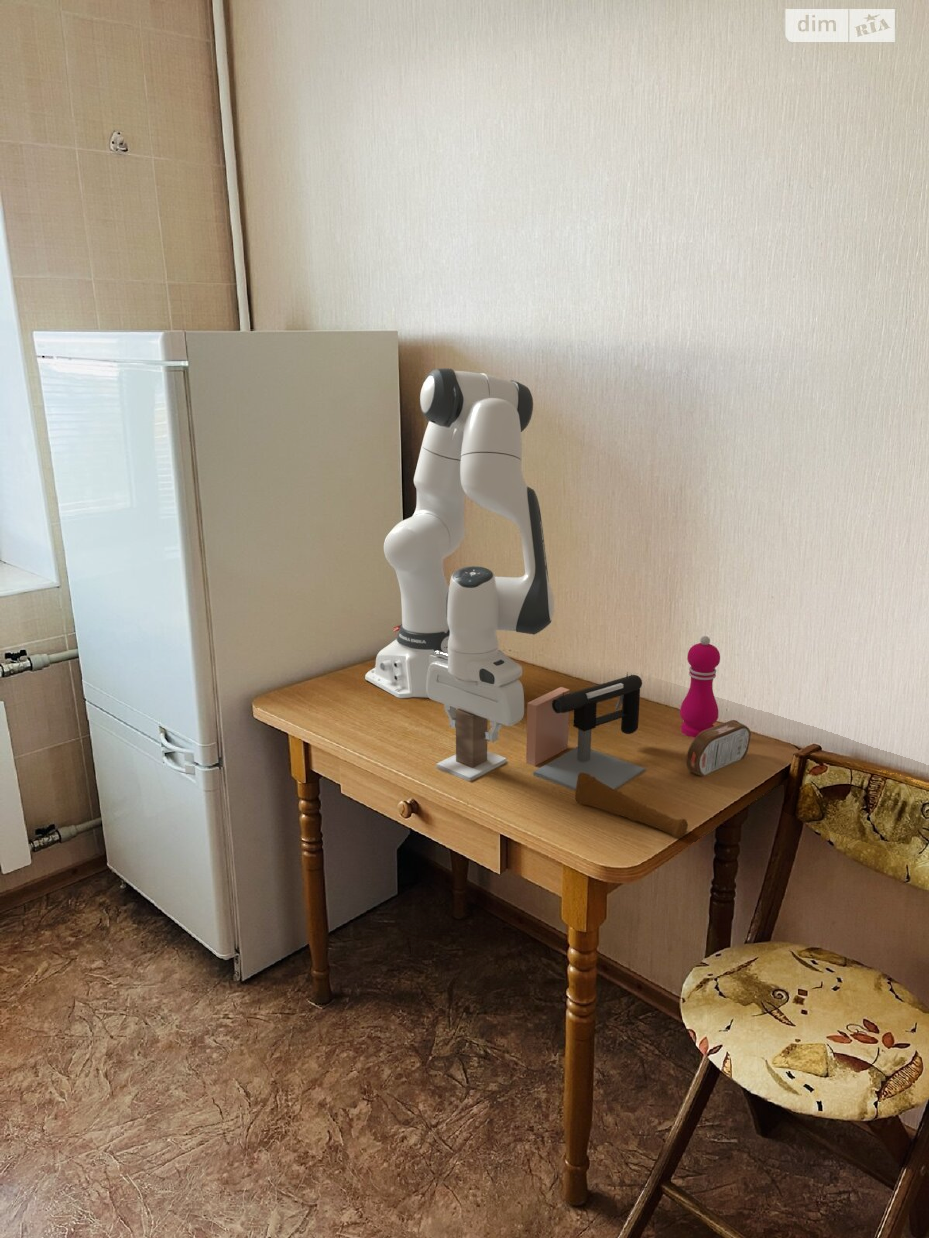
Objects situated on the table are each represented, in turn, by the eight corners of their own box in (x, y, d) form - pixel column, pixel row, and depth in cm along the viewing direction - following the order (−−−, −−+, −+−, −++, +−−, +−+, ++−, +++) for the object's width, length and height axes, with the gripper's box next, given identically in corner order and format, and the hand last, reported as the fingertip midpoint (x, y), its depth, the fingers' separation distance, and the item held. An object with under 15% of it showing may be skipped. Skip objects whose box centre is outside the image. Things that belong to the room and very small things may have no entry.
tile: (525, 763, 167) (526, 702, 164) (558, 745, 174) (560, 686, 171) (534, 767, 166) (536, 705, 162) (567, 748, 173) (569, 689, 169)
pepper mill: (705, 745, 174) (714, 645, 168) (671, 734, 179) (678, 637, 173) (723, 732, 179) (732, 635, 173) (689, 722, 184) (696, 627, 178)
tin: (737, 755, 170) (741, 713, 168) (751, 761, 168) (755, 718, 165) (683, 778, 162) (686, 734, 159) (697, 785, 160) (700, 741, 157)
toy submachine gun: (549, 773, 165) (551, 689, 160) (630, 744, 175) (634, 665, 171) (561, 780, 162) (563, 695, 157) (642, 751, 173) (647, 670, 168)
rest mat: (533, 776, 163) (533, 771, 162) (579, 750, 173) (579, 745, 172) (600, 802, 154) (600, 797, 153) (644, 773, 164) (644, 768, 163)
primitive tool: (575, 799, 153) (566, 807, 150) (579, 769, 151) (569, 777, 148) (687, 837, 143) (680, 846, 141) (692, 805, 142) (685, 814, 139)
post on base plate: (436, 768, 166) (435, 712, 162) (473, 750, 173) (473, 695, 169) (469, 782, 161) (469, 725, 157) (506, 763, 168) (507, 707, 164)
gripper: (417, 652, 165) (419, 723, 169) (506, 680, 152) (506, 756, 156) (441, 643, 169) (442, 712, 174) (530, 669, 156) (528, 743, 161)
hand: (473, 733), depth 165 cm, fingers open, 7 cm apart
